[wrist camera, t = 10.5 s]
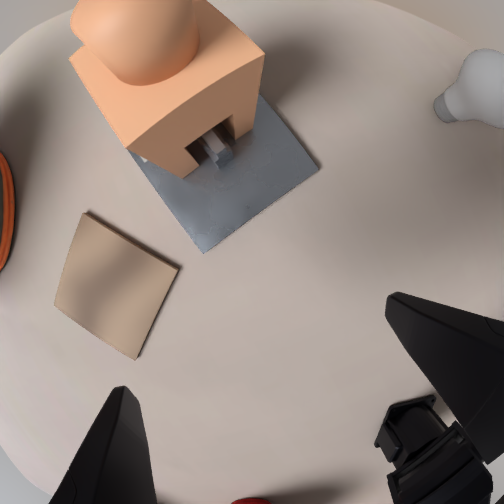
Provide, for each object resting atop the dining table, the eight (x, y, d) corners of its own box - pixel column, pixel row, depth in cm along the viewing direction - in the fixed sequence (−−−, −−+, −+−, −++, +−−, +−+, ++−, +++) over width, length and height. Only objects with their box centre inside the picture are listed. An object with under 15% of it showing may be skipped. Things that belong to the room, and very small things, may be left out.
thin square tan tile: (179, 269, 20) (177, 270, 20) (136, 357, 21) (135, 360, 21) (85, 212, 19) (82, 212, 19) (56, 303, 20) (53, 305, 20)
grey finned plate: (316, 170, 19) (339, 159, 14) (204, 252, 20) (191, 267, 15) (193, 28, 17) (182, -9, 12) (95, 99, 18) (64, 77, 13)
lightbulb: (429, 71, 18) (501, 27, 7) (468, 120, 18) (547, 97, 8) (402, 103, 18) (488, 55, 7) (446, 156, 19) (539, 140, 8)
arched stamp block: (252, 128, 18) (275, -8, 5) (182, 179, 18) (73, 121, 5) (204, 71, 17) (169, -69, 4) (138, 118, 18) (26, 23, 4)
